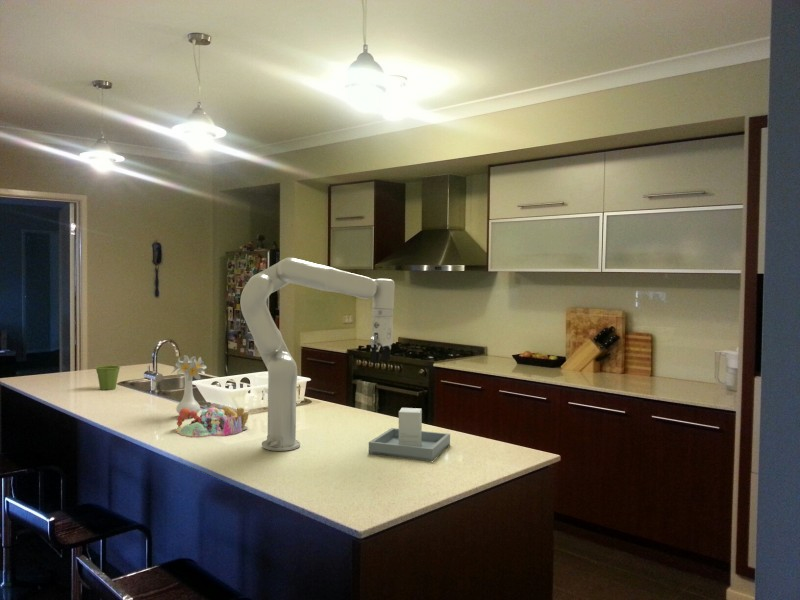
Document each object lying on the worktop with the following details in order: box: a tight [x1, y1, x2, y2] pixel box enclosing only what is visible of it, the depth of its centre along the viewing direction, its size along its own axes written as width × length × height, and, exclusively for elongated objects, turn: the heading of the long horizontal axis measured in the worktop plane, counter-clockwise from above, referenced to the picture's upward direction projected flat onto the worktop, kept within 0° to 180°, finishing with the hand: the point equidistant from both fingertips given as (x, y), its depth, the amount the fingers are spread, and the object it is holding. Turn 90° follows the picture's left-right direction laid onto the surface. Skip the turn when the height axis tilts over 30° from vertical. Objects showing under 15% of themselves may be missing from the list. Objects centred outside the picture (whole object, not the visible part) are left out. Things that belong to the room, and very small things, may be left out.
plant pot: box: [94, 365, 121, 391], centre depth 318 cm, size 12×12×11 cm
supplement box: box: [398, 407, 423, 447], centre depth 214 cm, size 7×7×13 cm
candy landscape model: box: [175, 406, 249, 438], centre depth 237 cm, size 25×24×9 cm
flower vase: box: [171, 354, 207, 419], centre depth 258 cm, size 13×18×25 cm
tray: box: [368, 427, 451, 462], centre depth 214 cm, size 22×22×4 cm
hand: (380, 361), depth 223 cm, fingers open, 9 cm apart
